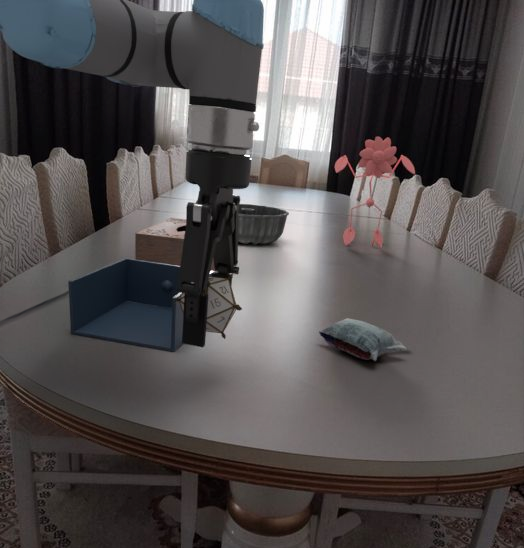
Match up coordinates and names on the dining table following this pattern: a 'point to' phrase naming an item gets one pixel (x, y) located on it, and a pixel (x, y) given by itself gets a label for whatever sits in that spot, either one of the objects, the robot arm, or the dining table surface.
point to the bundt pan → (260, 224)
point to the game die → (217, 304)
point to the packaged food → (361, 339)
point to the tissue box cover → (162, 242)
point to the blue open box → (129, 304)
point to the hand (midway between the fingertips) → (206, 330)
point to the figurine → (376, 162)
